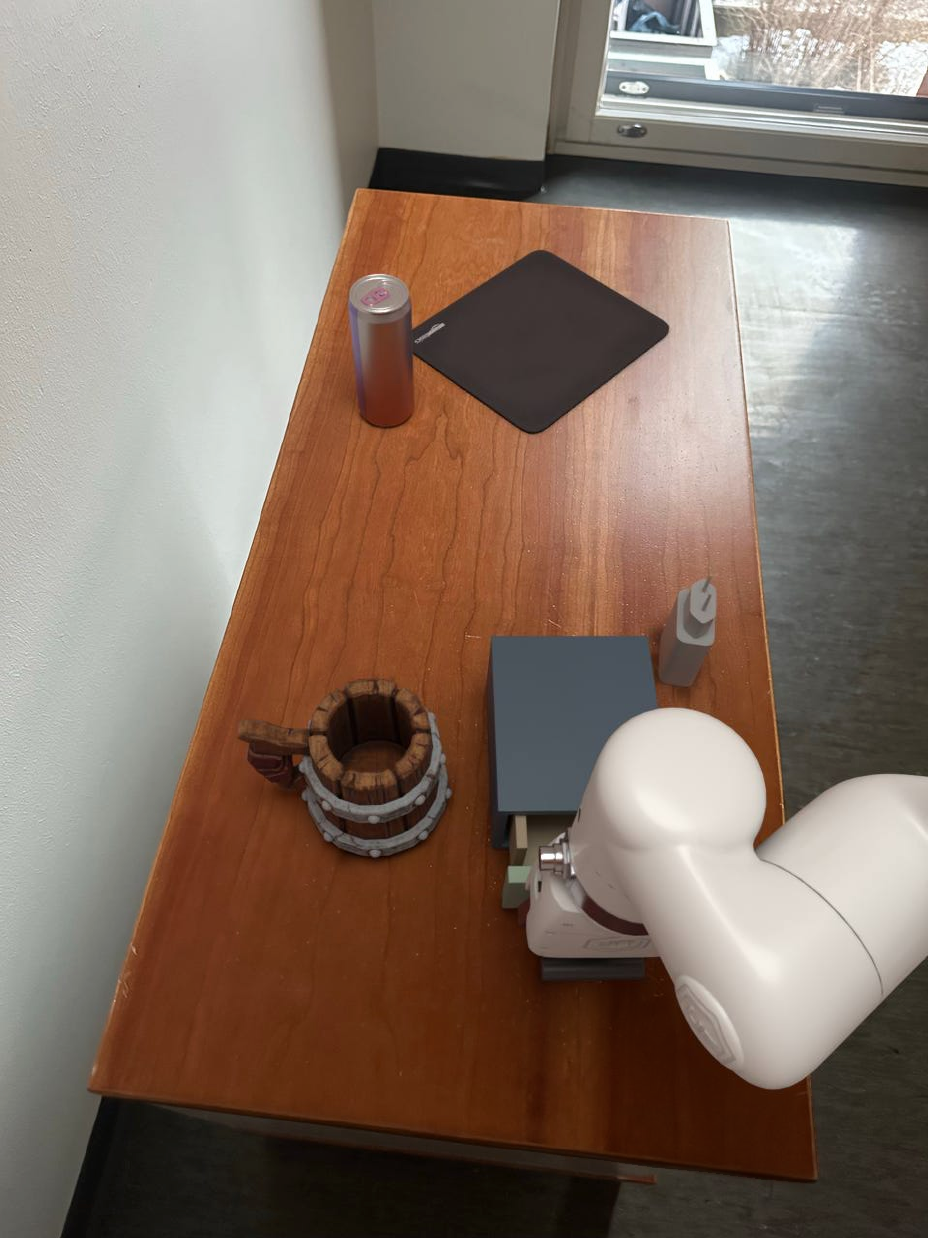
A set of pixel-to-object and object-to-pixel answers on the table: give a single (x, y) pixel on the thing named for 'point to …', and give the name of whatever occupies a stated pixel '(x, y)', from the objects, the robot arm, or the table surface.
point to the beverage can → (382, 348)
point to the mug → (360, 766)
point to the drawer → (523, 853)
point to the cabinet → (557, 717)
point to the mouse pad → (536, 339)
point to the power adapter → (688, 634)
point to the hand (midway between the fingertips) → (585, 938)
